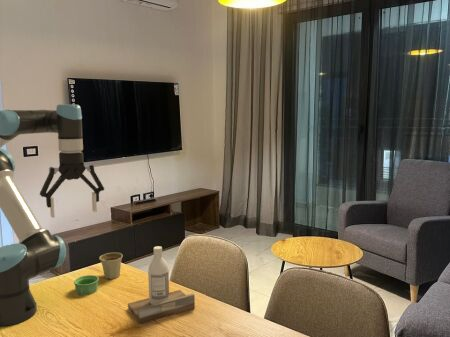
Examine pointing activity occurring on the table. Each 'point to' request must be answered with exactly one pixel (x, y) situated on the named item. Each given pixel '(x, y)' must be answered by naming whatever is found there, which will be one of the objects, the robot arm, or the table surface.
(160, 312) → the brown piece
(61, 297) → the table surface
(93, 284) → the ramekin
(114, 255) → the flower pot
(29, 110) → the robot arm
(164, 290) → the bath foam
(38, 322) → the table surface
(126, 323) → the table surface
